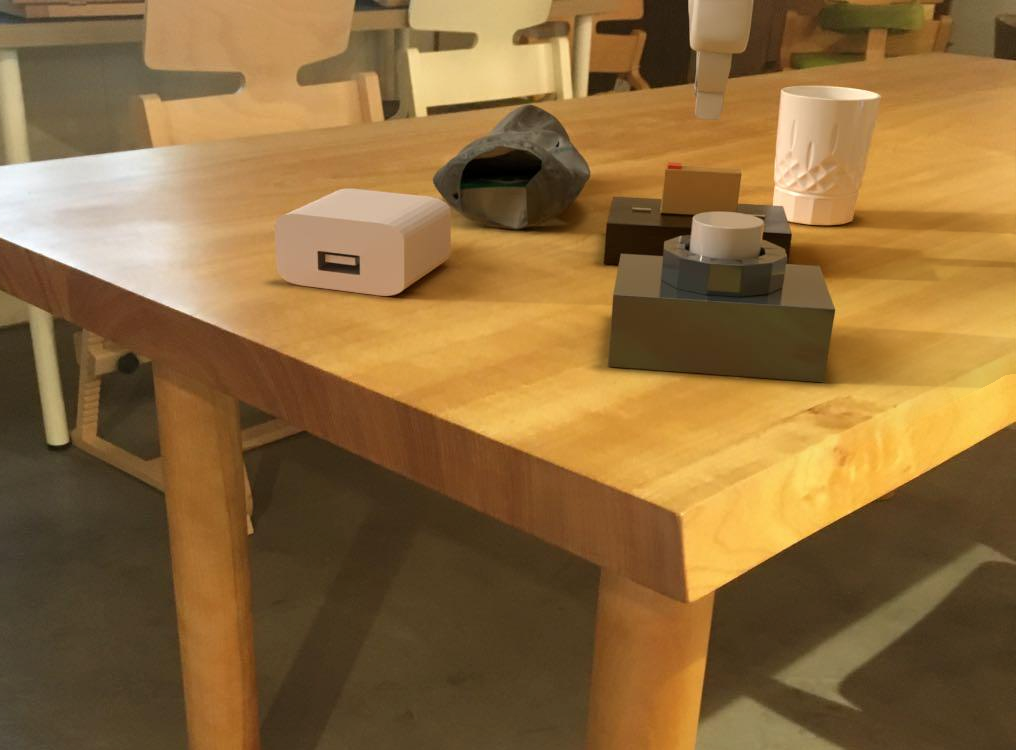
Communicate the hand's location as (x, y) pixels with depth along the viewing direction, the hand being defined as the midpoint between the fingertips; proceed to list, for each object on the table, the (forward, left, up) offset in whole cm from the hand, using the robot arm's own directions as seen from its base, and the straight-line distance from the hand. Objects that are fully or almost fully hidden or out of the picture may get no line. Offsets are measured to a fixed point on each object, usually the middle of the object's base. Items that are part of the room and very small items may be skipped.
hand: (706, 108), depth 88 cm
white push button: (-1, +22, -5) cm, 23 cm away
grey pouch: (+15, -15, -11) cm, 24 cm away
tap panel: (0, 0, -11) cm, 11 cm away
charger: (+22, +8, -11) cm, 26 cm away
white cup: (-10, -15, -11) cm, 21 cm away
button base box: (-1, +22, -11) cm, 24 cm away
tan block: (0, 0, -7) cm, 7 cm away
